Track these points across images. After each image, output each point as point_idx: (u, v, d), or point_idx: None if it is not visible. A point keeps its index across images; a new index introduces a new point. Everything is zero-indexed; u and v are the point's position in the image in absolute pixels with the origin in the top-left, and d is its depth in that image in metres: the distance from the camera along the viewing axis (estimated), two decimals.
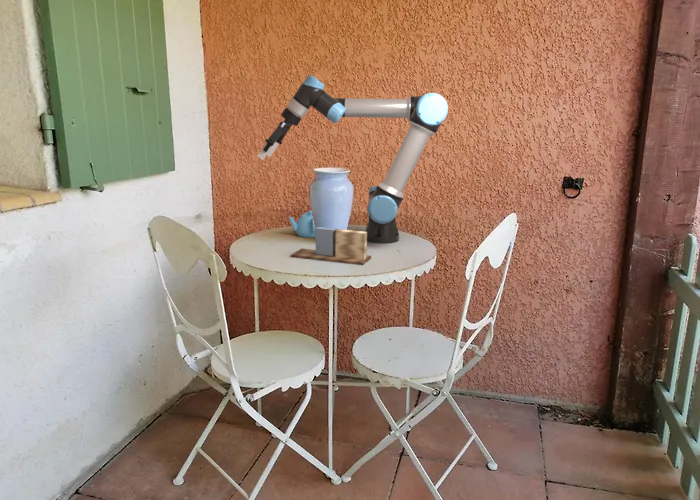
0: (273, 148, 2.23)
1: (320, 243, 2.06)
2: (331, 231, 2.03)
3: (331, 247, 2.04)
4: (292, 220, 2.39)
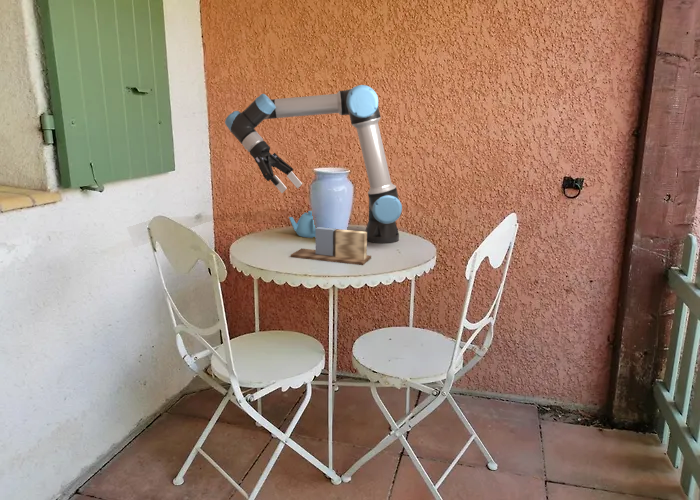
0: (294, 178, 2.14)
1: (320, 243, 2.06)
2: (331, 231, 2.03)
3: (331, 247, 2.04)
4: (292, 220, 2.39)
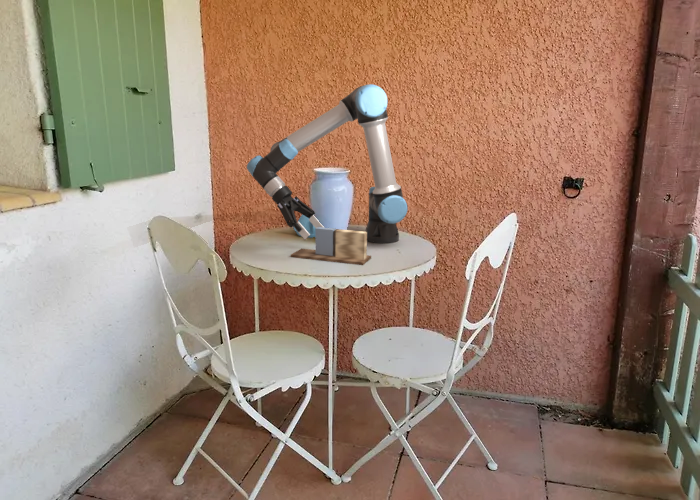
0: (316, 221, 2.12)
1: (320, 243, 2.06)
2: (331, 231, 2.03)
3: (331, 247, 2.04)
4: None
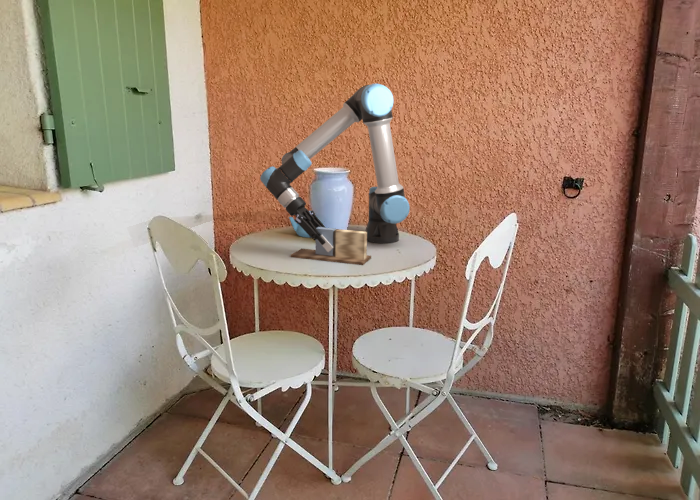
0: None
1: None
2: (331, 231, 2.03)
3: None
4: (292, 220, 2.39)
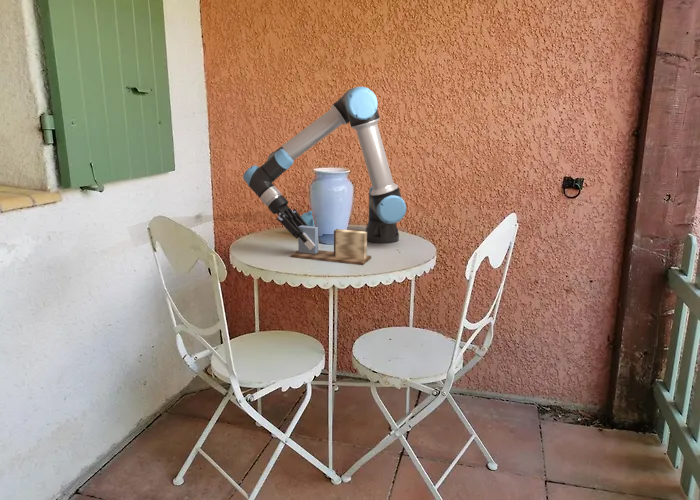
0: None
1: None
2: (313, 229, 2.05)
3: None
4: None
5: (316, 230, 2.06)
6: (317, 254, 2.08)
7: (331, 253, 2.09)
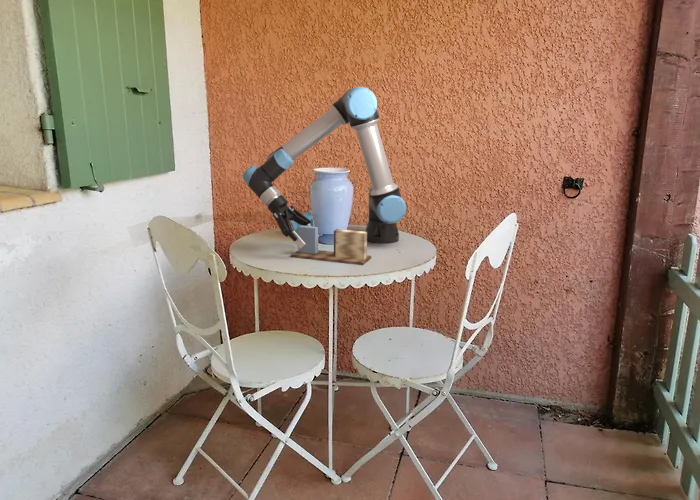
0: None
1: None
2: (313, 229, 2.05)
3: (313, 245, 2.07)
4: (292, 220, 2.39)
5: (316, 230, 2.06)
6: (317, 254, 2.08)
7: (331, 253, 2.09)
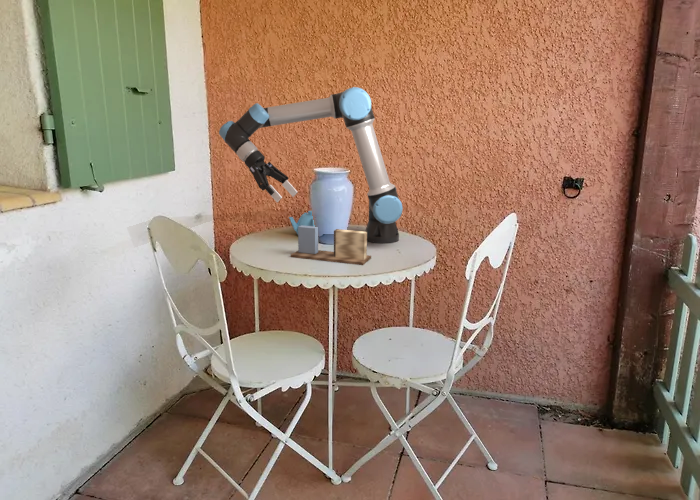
0: (289, 186, 2.14)
1: (303, 241, 2.08)
2: (313, 229, 2.05)
3: (313, 245, 2.07)
4: (292, 220, 2.39)
5: (316, 230, 2.06)
6: (317, 254, 2.08)
7: (331, 253, 2.09)
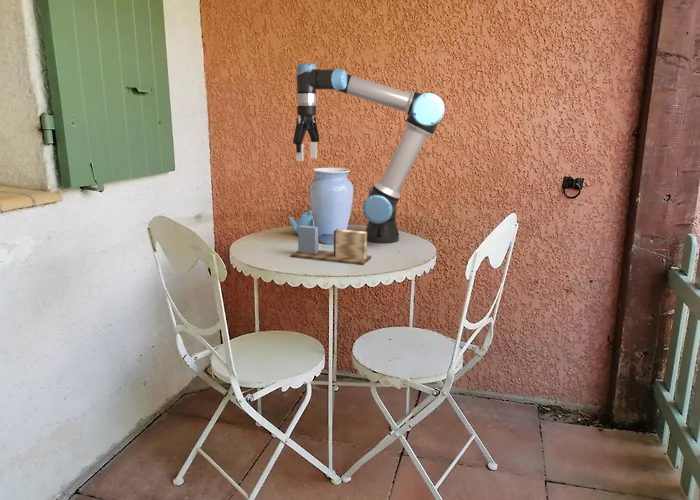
0: (314, 149, 2.25)
1: (303, 241, 2.08)
2: (313, 229, 2.05)
3: (313, 245, 2.07)
4: (292, 220, 2.39)
5: (316, 230, 2.06)
6: (317, 254, 2.08)
7: (331, 253, 2.09)
